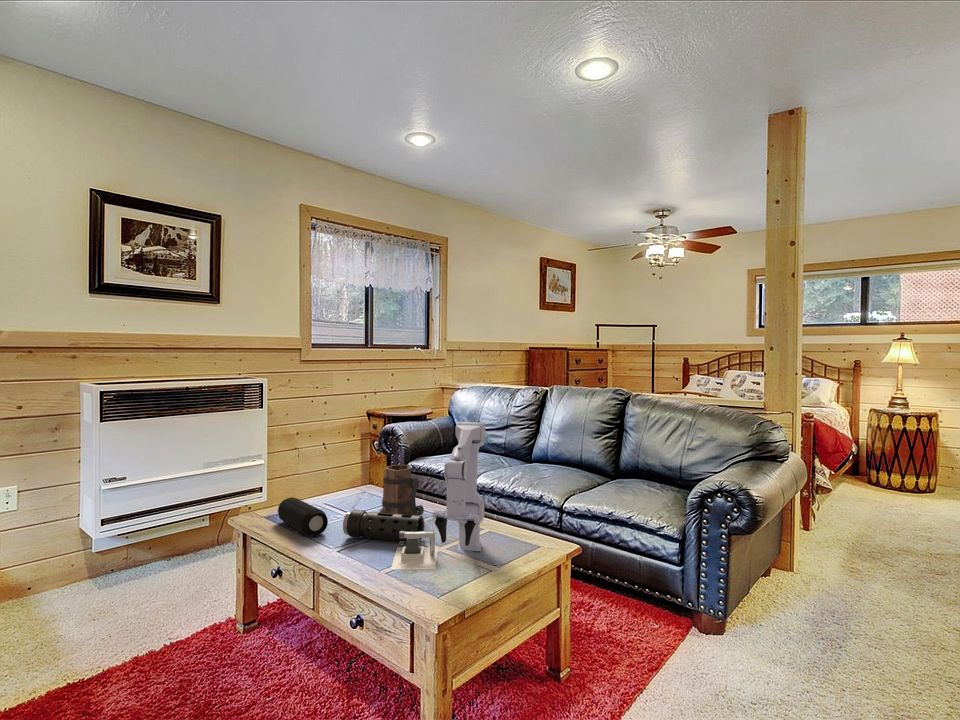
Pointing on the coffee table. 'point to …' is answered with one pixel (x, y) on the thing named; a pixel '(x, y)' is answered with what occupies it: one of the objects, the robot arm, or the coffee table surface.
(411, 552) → the plug
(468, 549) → the robot arm
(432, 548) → the clip
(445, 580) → the coffee table surface
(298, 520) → the portable speaker
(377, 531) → the muzzle brake
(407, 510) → the tankard
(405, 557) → the socket base
